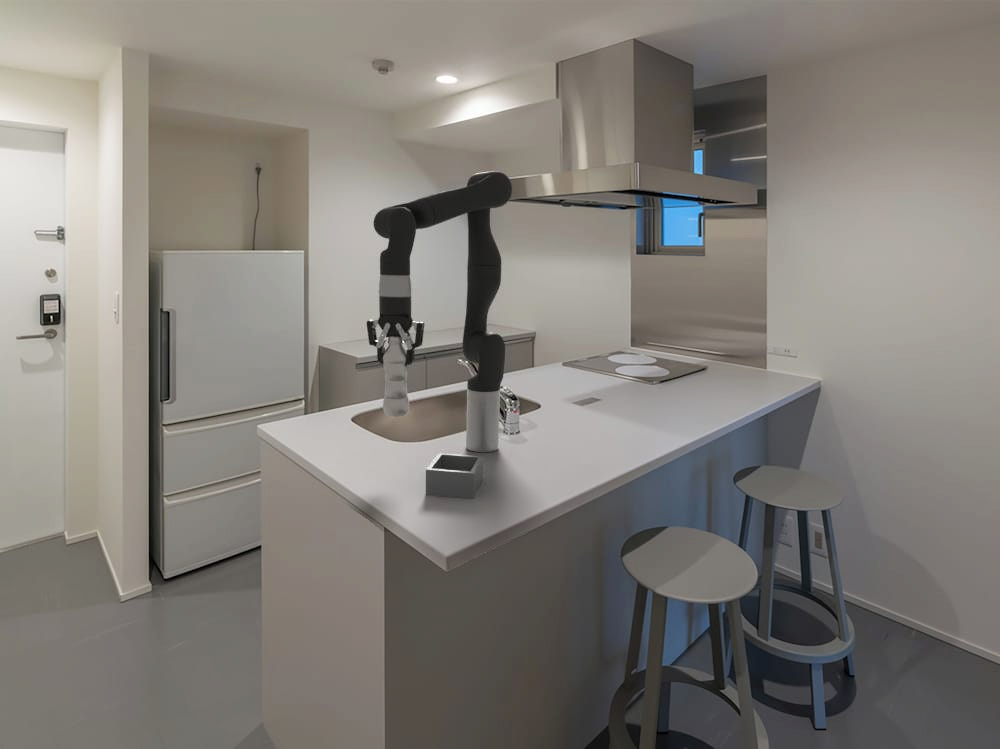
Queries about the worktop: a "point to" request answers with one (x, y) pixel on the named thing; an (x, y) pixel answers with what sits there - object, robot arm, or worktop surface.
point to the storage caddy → (454, 475)
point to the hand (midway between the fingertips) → (395, 363)
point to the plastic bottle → (395, 378)
